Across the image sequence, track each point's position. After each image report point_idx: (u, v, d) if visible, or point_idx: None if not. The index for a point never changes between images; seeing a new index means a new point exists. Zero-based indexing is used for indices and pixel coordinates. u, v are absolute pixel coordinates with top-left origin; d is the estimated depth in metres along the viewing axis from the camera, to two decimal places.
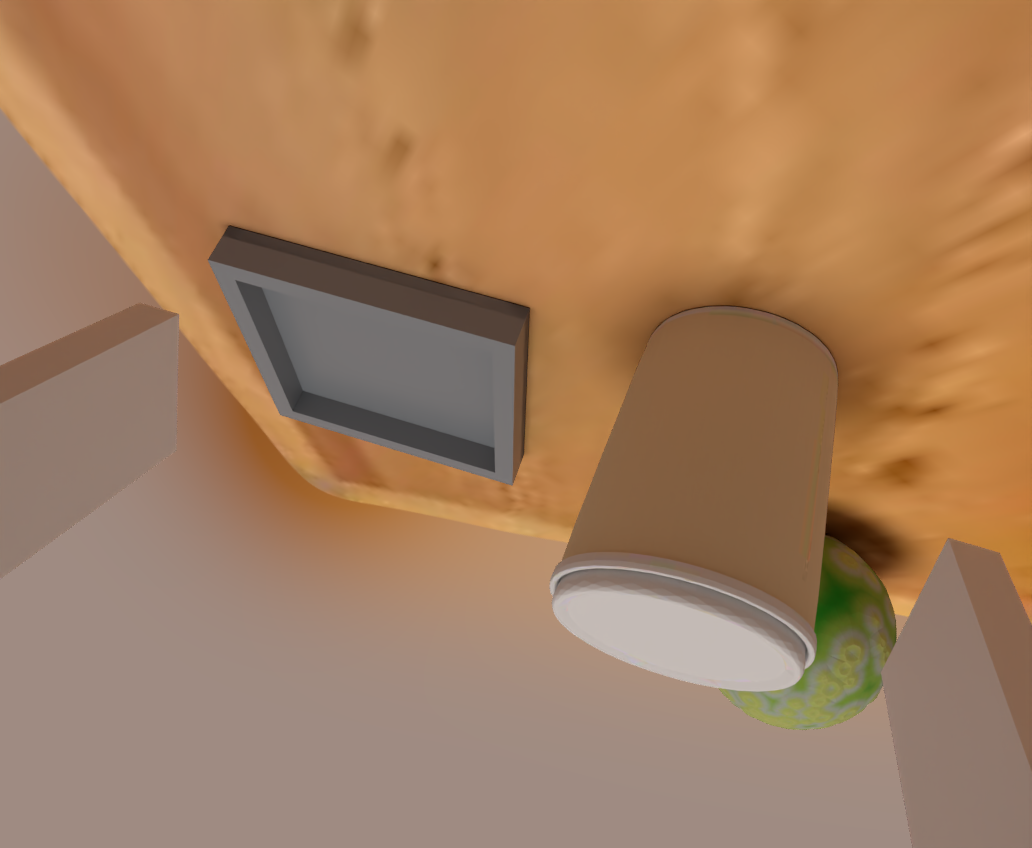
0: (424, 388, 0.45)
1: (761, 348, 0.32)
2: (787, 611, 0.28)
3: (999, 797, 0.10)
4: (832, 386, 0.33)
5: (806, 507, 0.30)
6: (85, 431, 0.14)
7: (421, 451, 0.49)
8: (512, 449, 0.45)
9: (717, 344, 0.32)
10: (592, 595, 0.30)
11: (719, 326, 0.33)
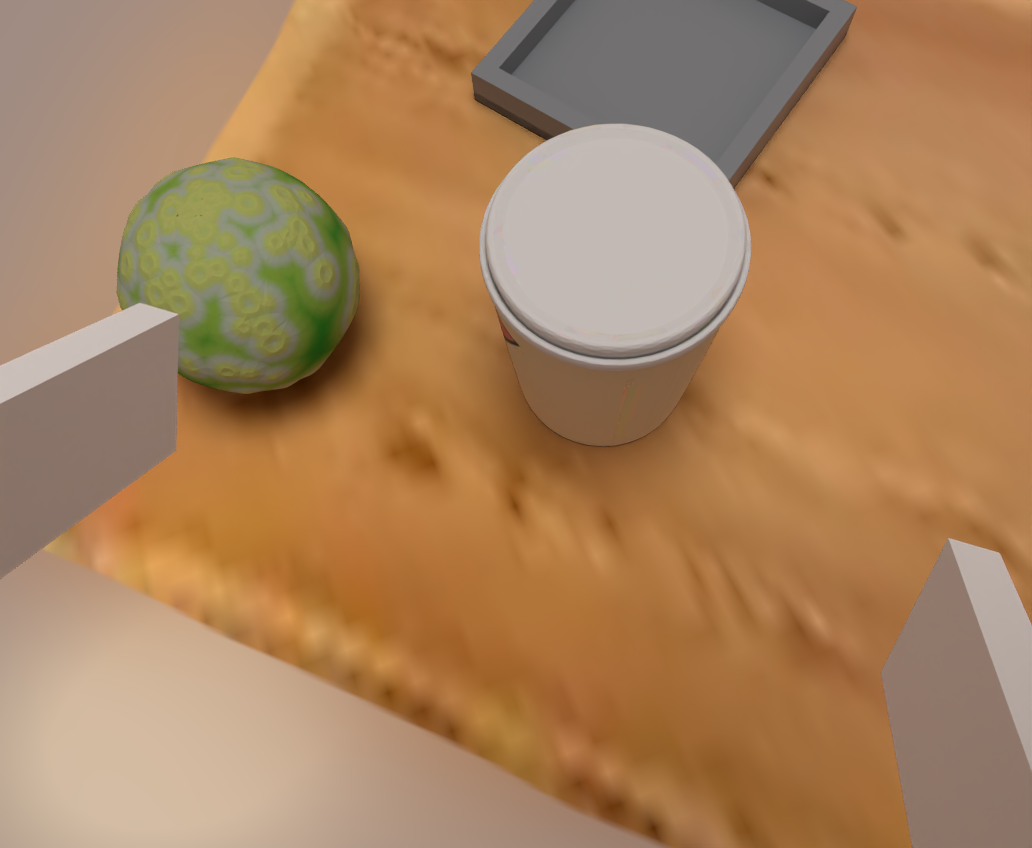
0: (618, 69, 0.46)
1: None
2: (660, 362, 0.29)
3: (999, 797, 0.10)
4: (603, 440, 0.39)
5: (636, 399, 0.33)
6: (85, 431, 0.14)
7: (545, 10, 0.46)
8: (543, 111, 0.44)
9: None
10: (714, 195, 0.30)
11: None
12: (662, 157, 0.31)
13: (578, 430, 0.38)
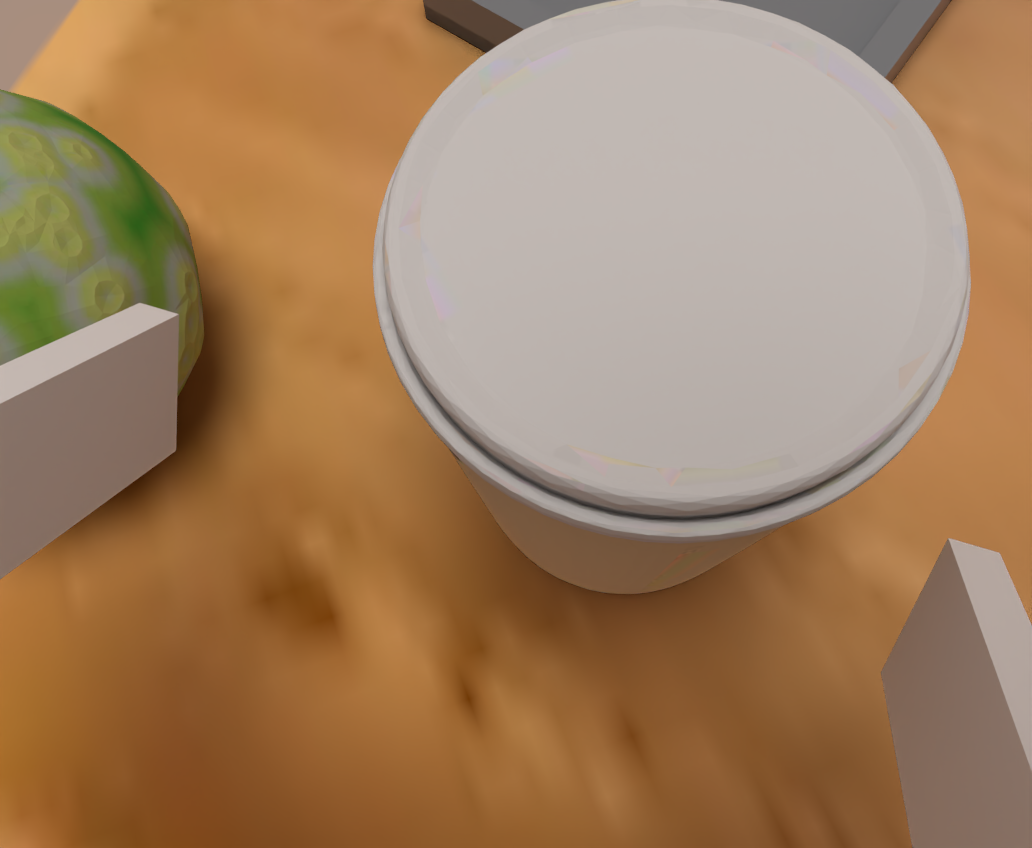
0: None
1: None
2: (772, 528, 0.13)
3: (999, 797, 0.10)
4: (623, 591, 0.22)
5: (698, 562, 0.17)
6: (85, 431, 0.14)
7: None
8: None
9: None
10: (890, 150, 0.14)
11: None
12: (772, 67, 0.14)
13: (580, 580, 0.21)
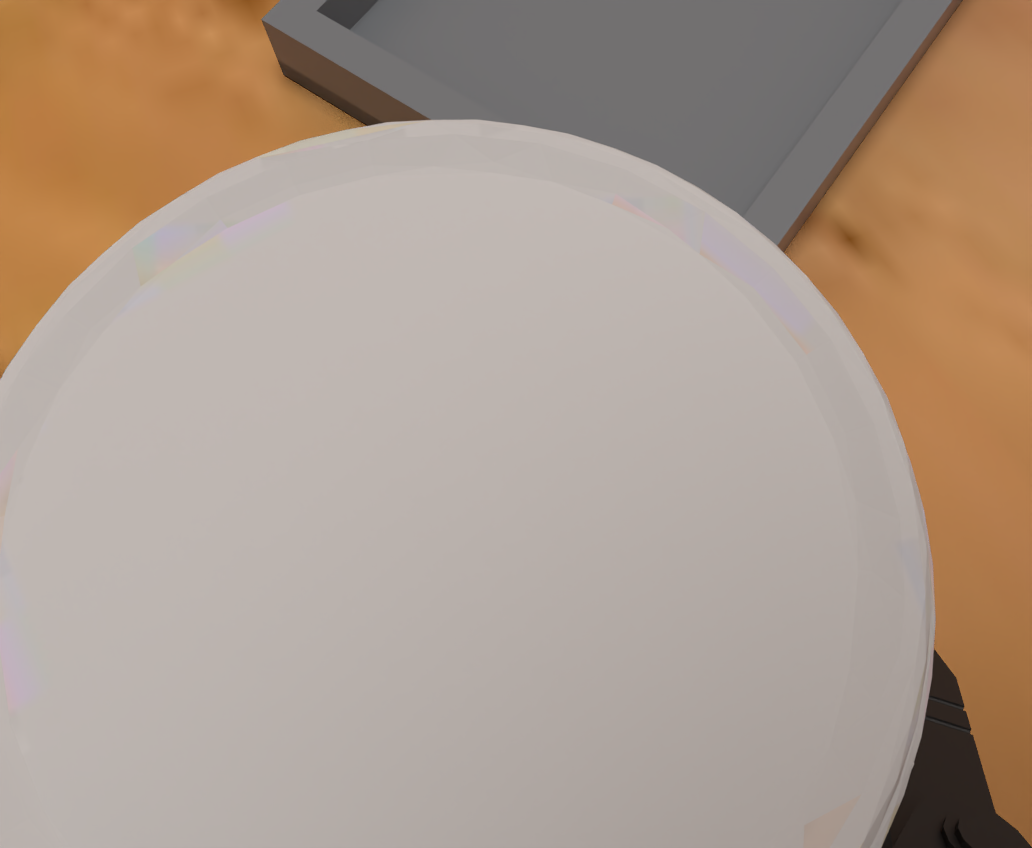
0: (556, 20, 0.24)
1: None
2: None
3: None
4: None
5: None
6: None
7: None
8: (397, 98, 0.22)
9: None
10: (800, 389, 0.08)
11: None
12: (611, 240, 0.09)
13: None
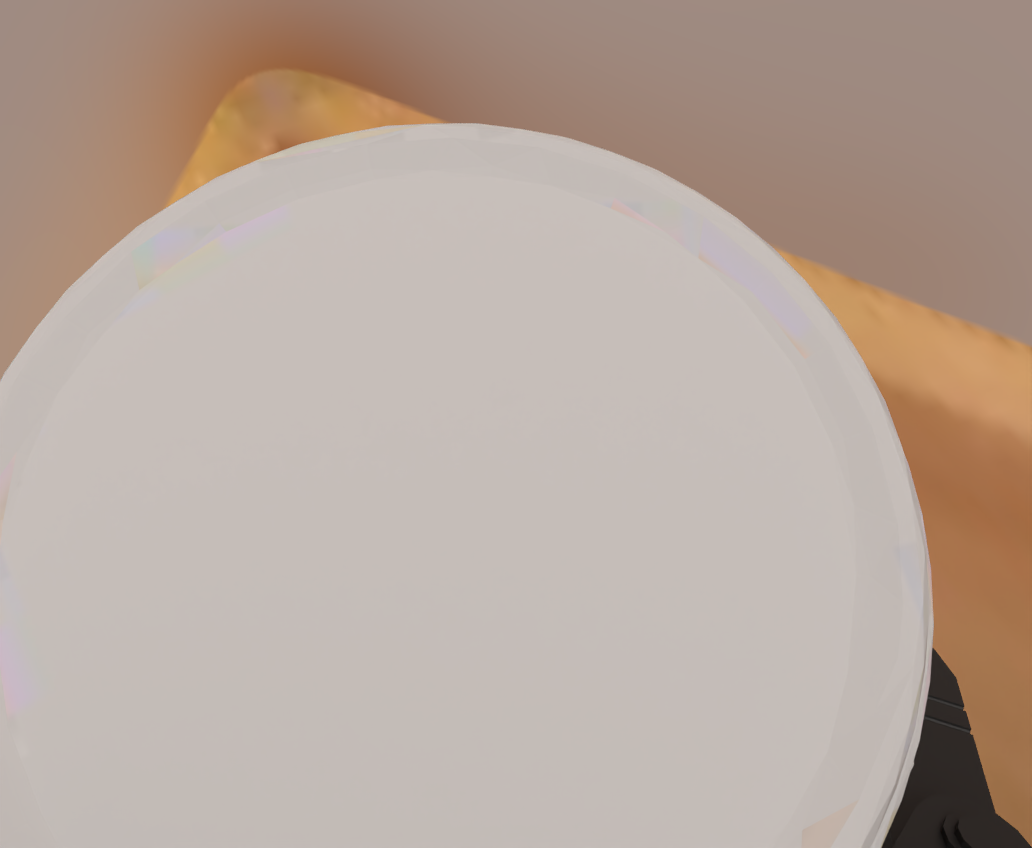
0: None
1: None
2: None
3: None
4: None
5: None
6: None
7: None
8: None
9: None
10: (798, 394, 0.08)
11: None
12: (610, 244, 0.09)
13: None
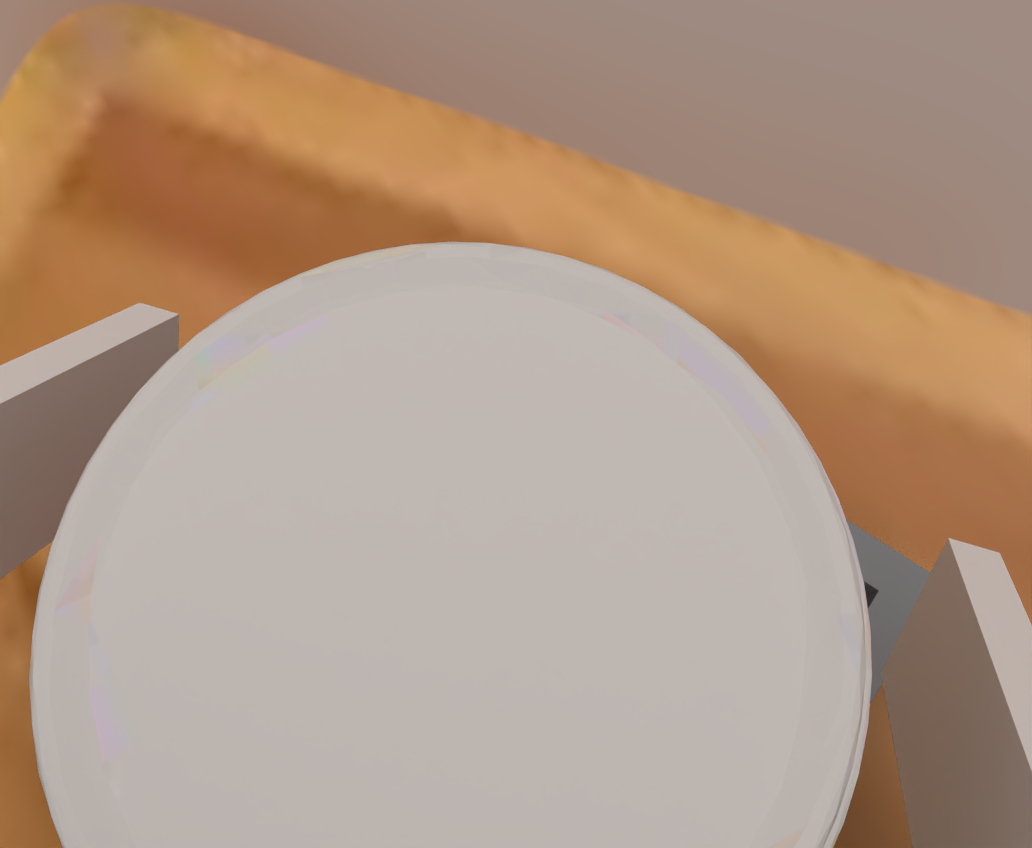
0: None
1: None
2: None
3: (999, 797, 0.10)
4: None
5: None
6: (85, 431, 0.14)
7: None
8: None
9: None
10: (760, 483, 0.10)
11: None
12: (602, 351, 0.10)
13: None
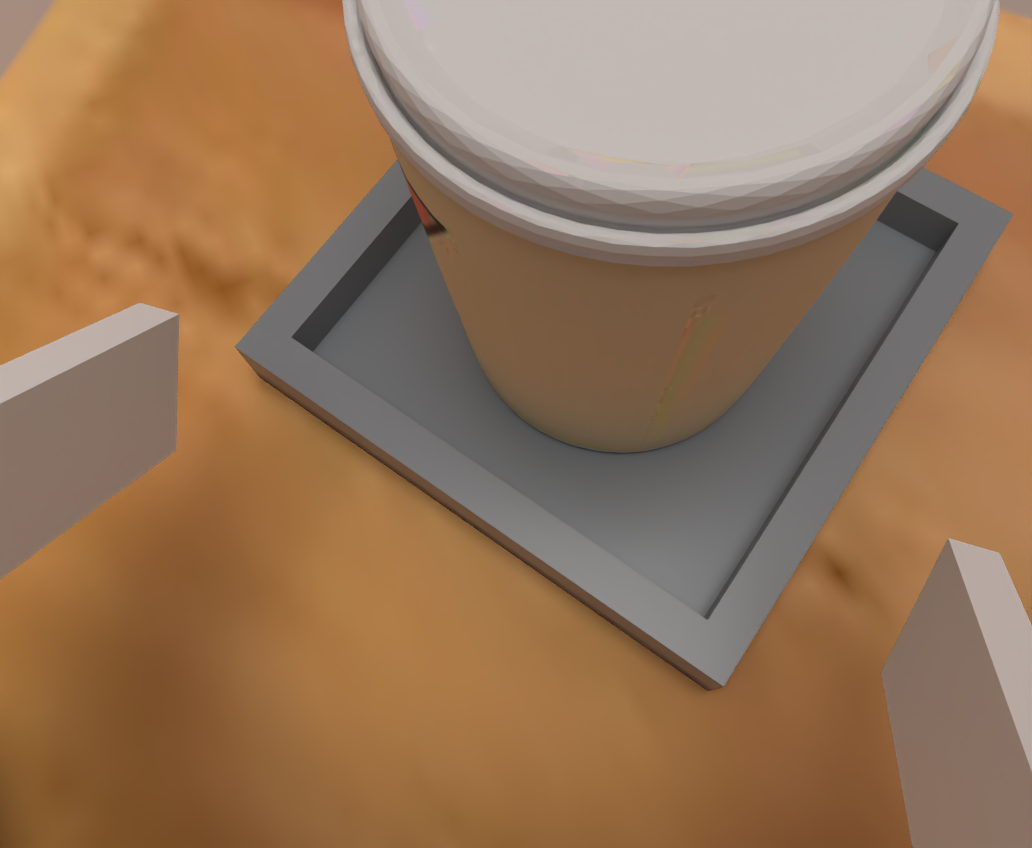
0: None
1: None
2: (793, 242, 0.12)
3: (999, 797, 0.10)
4: (625, 442, 0.21)
5: (707, 352, 0.15)
6: (85, 431, 0.14)
7: (393, 211, 0.23)
8: (374, 441, 0.21)
9: None
10: None
11: None
12: None
13: (579, 424, 0.20)
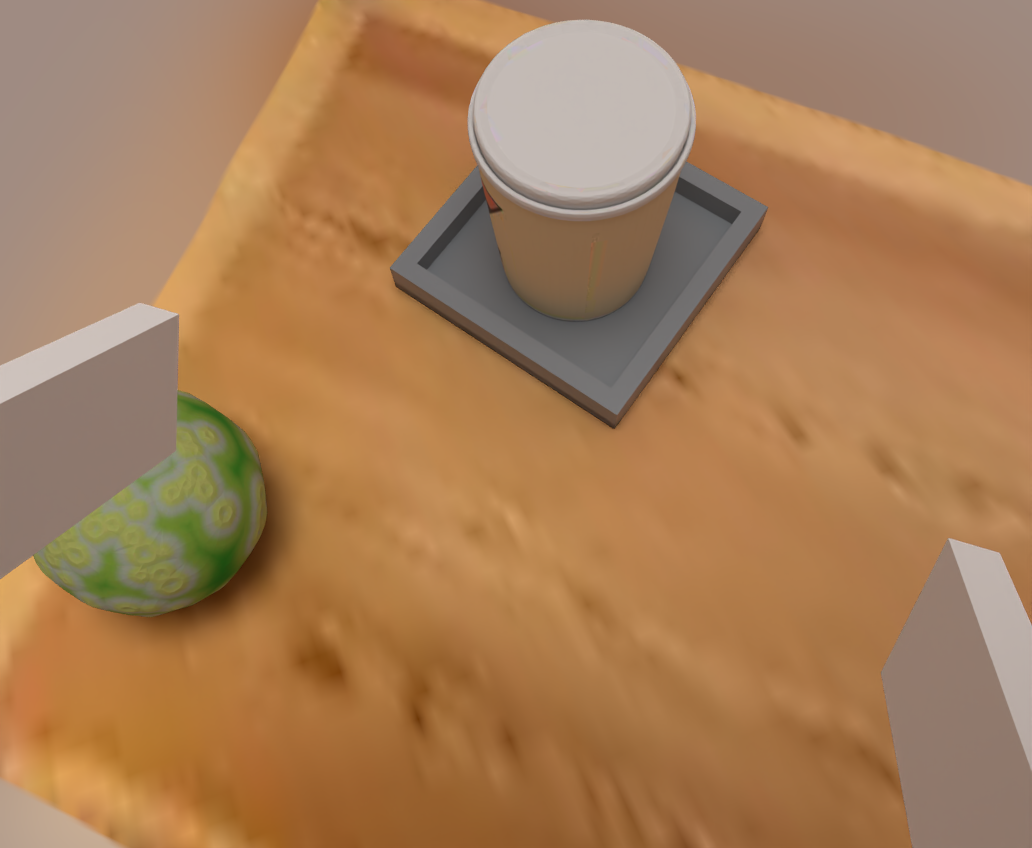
0: None
1: (638, 280, 0.44)
2: (620, 213, 0.35)
3: (998, 797, 0.10)
4: (577, 312, 0.44)
5: (602, 259, 0.39)
6: (85, 431, 0.14)
7: (465, 203, 0.47)
8: (458, 311, 0.45)
9: None
10: (665, 77, 0.36)
11: None
12: (621, 47, 0.37)
13: (554, 301, 0.44)
